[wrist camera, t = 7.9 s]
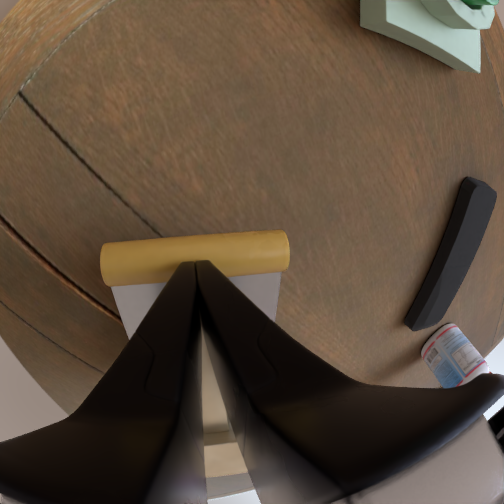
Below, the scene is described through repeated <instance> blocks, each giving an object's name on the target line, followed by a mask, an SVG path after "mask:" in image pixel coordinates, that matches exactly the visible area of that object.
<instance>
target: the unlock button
mask: <svg viewBox="0 0 504 504" xmlns="http://www.w3.org/2000/svg"><path fill="white" fill-rule="evenodd" d="M461 1H462V2H464V3H466V4H468V5H493V6H494V5H497V4H498V2H499V0H461Z"/></svg>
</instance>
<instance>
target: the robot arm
mask: <svg viewBox="0 0 504 504" xmlns="http://www.w3.org/2000/svg"><path fill="white" fill-rule="evenodd" d="M195 267H196V268H195ZM200 317H201V318H200ZM201 325H202V327H201ZM202 331H203V335H204V339H205V343H206V346H207V350H208V353H209V357H210V360H211V364H212V367H213V371H214V374H215V377H216V380H217V384H218V387H219V390H220V393H221V396H222V399H223V403H224V406H225V409H226V412H227V415H228V418H229V421H230V423H231V426H232V429H233V432H234V435H235V438H236V440H237V443H238V446H239V449H240V451H241V454H242V457H243V458H244V462H245V465H246V467H247V470H248V473H249V475H250V478H251V480H252V483H253V485H254V488H255V490H256V492H257V495H258V497H259V499H260V502H261V504H504V406H503V407H502V408H501V409H500V410H499V411H498V412H497V413H496V414H495V415H494V416H492V417H491V418H490V419H489V420H488V421H487V420H486V418H485V417H484V415H483V413H484V412H485V411H486V410H488V408H490V407H491V406H492V405H493V404H494V403H495V402H496V401H497V400H498V399H499V398H500V397H502V396H503V395H504V375H500V374H492V373H481V374H479V375H478V376H476V377H475V378H474V379H472V380H471V381H469V382H468V383H466V384H464V385H460V386H457V387H451V388H408V387H392V386H380V385H370V384H365V383H362V382H359V381H356V380H354V379H352V378H350V377H348V376H347V375H345V374H343V373H342V372H340V371H339V370H337V369H336V368H334V367H333V366H331V365H330V364H328V363H327V362H325V361H324V360H322V359H321V358H320V357H318V356H317V355H315V354H314V353H312V352H311V351H309V350H308V349H307V348H305V347H304V346H303V345H301V344H300V343H299V342H297V341H296V340H294V339H293V338H292V337H291V336H290V335H288V334H287V333H286V332H285V331H284V330H283V329H281V328H280V327H279V326H278V325H277V324H276V323H275V322H274V321H273V320H271V319H270V318H269V317H268V316H267V315H266V314H265V313H264V312H263V311H262V310H261V309H260V308H258V307H257V306H256V305H255V304H254V303H253V302H252V301H251V300H250V299H249V298H248V297H247V296H246V295H245V294H244V293H243V292H242V291H241V290H239V289H238V288H237V287H236V286H235V285H234V284H233V283H232V282H231V281H230V280H229V279H228V278H227V277H226V276H225V275H224V274H223V273H222V272H221V271H220V270H219V269H218V268H217V267H216V266H215V265H214V264H213V263H212V262H211V261H209V260H197V261H196V262H194V261H185V262H181V263H180V264H179V266H178V267H177V269H176V270H175V272H174V273H173V274H172V276H171V277H170V279H169V280H168V282H167V283H166V285H165V286H164V288H163V289H162V291H161V292H160V294H159V295H158V297H157V298H156V300H155V301H154V303H153V304H152V306H151V307H150V309H149V310H148V312H147V314H146V315H145V317H144V318H143V320H142V321H141V323H140V324H139V326H138V328H137V329H136V331H135V333H134V334H133V335H132V337H131V338H130V340H129V342H128V343H127V345H126V346H125V348H124V349H123V351H122V352H121V354H120V355H119V356H118V358H117V359H116V360H115V362H114V363H113V364H112V366H111V367H110V368H109V370H108V371H107V372H106V374H105V375H104V376H103V377H102V379H101V380H100V381H99V382H98V384H97V385H96V386H95V388H94V389H93V390H92V391H91V393H90V394H89V395H88V397H87V398H86V399H85V400H84V402H83V403H82V404H81V405H80V406H79V408H78V409H77V410H76V411H75V412H74V413H72V414H71V415H70V416H69V417H67V418H65V419H64V420H61V421H59V422H57V423H54V424H52V425H49V426H46V427H43V428H41V429H38V430H35V431H33V432H30V433H27V434H24V435H22V436H18V437H15V438H13V439H9V440H6V441H3V442H0V493H1V494H2V500H1V501H2V503H0V504H208V503H207V490H206V476H205V464H204V463H205V460H204V439H203V408H202Z"/></svg>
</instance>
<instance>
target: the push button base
mask: <svg viewBox="0 0 504 504" xmlns="http://www.w3.org/2000/svg"><path fill="white" fill-rule="evenodd" d="M494 15H495V14H494V6H493V5H468V4H466V3H464V2H462V1H461V0H360V27H363V28H366V29H369V30H372V31H374V32H377V33H380V34H382V35H385V36H388V37H390V38H393V39H395V40H397V41H400V42H402V43H404V44H407V45H409V46H411V47H413V48H415V49H418V50H420V51H422V52H424V53H426V54H428V55H430V56H432V57H434V58H435V59H437V60H439V61H441V62H443V63H445V64H446V65H448V66H450V67H452V68H453V69H455V70H461V71H468V72H473V73H479V74H480V29H489V28H490V25H491V23H492V20H493V18H494Z"/></svg>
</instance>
